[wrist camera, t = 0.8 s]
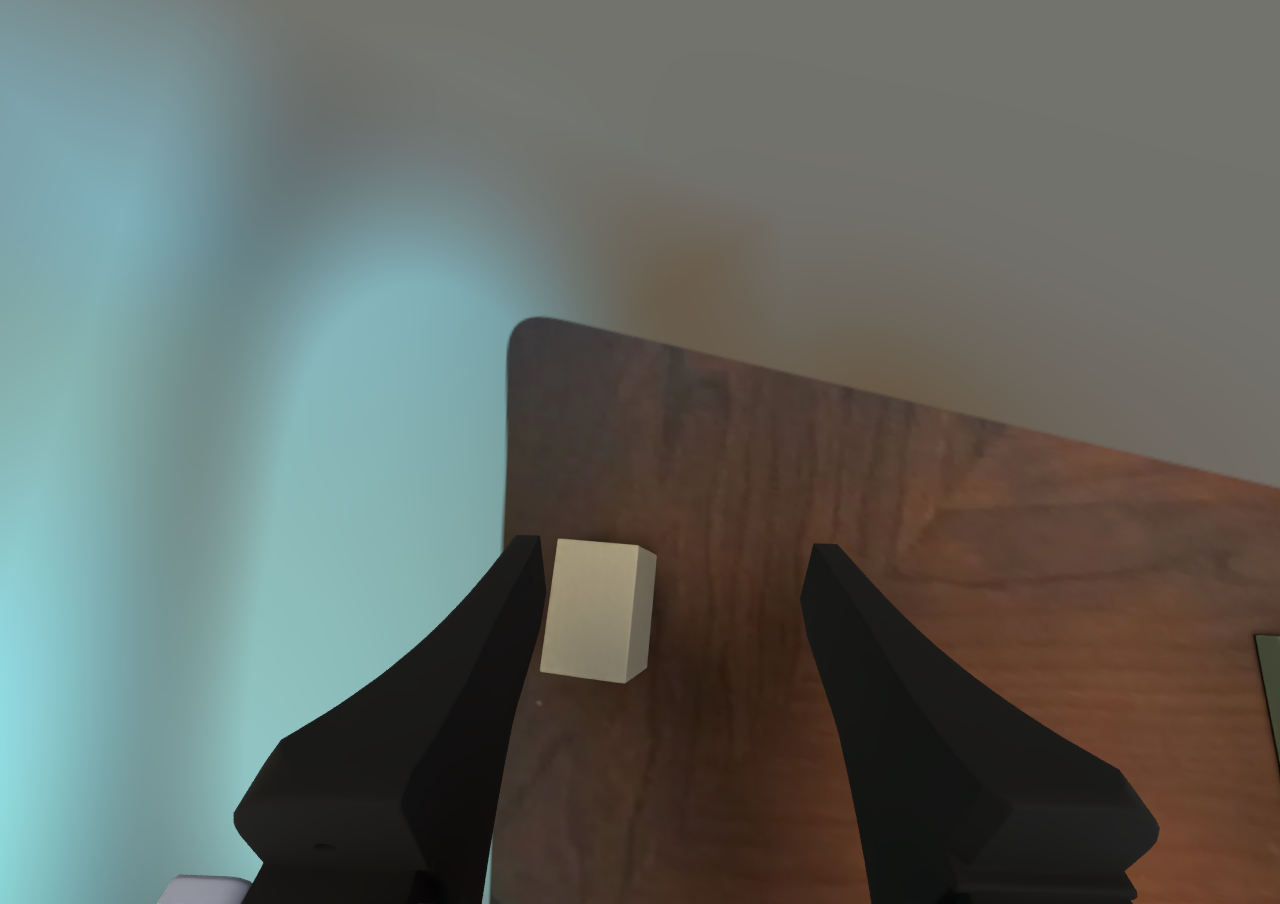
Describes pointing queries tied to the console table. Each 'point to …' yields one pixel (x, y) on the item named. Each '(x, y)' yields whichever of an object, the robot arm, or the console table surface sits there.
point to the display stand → (1271, 678)
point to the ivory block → (599, 611)
